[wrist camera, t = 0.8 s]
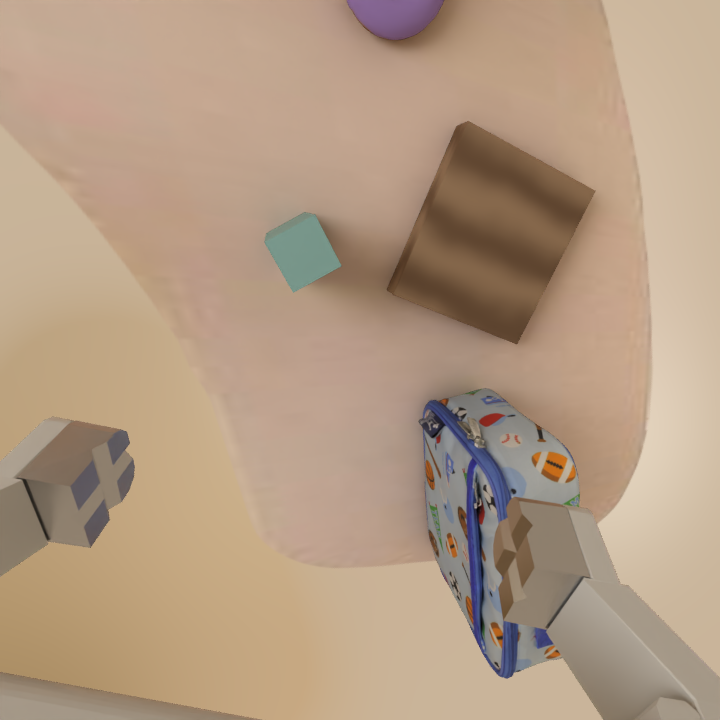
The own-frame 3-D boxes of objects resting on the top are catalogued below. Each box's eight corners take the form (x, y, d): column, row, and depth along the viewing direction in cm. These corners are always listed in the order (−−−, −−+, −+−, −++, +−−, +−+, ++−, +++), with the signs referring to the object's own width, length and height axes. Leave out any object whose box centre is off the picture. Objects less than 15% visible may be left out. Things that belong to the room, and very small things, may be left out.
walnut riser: (456, 126, 47) (468, 121, 44) (577, 191, 51) (595, 190, 49) (386, 289, 51) (393, 294, 48) (504, 337, 55) (516, 344, 53)
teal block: (266, 233, 47) (264, 242, 36) (304, 212, 47) (314, 214, 36) (288, 272, 49) (293, 292, 37) (325, 251, 49) (341, 266, 37)
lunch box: (405, 378, 55) (484, 481, 34) (486, 361, 56) (610, 451, 36) (426, 558, 64) (498, 723, 44) (495, 540, 65) (597, 693, 45)
